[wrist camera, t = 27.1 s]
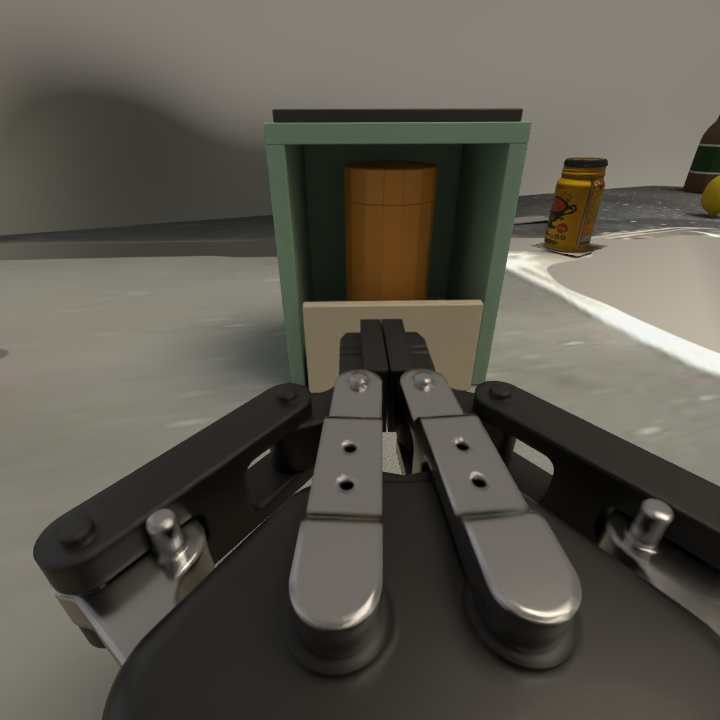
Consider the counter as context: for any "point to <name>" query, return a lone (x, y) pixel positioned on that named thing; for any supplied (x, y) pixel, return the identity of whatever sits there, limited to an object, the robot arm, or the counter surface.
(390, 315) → the beige drawer
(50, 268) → the counter surface
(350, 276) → the jar
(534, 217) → the cleaver
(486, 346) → the green open box
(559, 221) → the condiment
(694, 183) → the beer bottle
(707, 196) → the lemon
